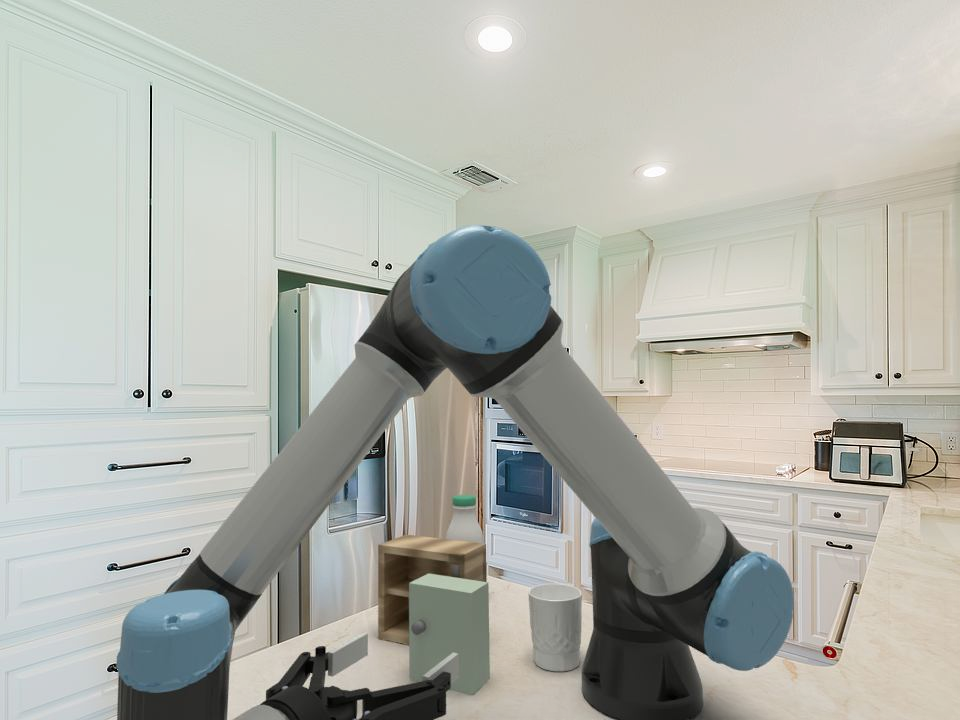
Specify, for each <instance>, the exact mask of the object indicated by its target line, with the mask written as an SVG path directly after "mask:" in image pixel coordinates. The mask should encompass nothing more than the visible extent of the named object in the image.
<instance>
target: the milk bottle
mask: <svg viewBox="0 0 960 720" xmlns="http://www.w3.org/2000/svg"><path fill="white" fill-rule="evenodd" d="M476 503H477V497H476V496H475V495H473V494H458V495H454V496H452V508H453V515H452V518H451V521H450V524H449V526H448V528H447V532H446V534H445V539H449V540H458V541H467V542H476V543H484V544H485V539H484V534H483V531H482V528H481V526H480V524H479V521H478V518H477V515H476V511H475V510H476V509H475V508H477V507H476V506H477V505H476Z"/></svg>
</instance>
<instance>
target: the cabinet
mask: <svg viewBox="0 0 960 720" xmlns="http://www.w3.org/2000/svg"><path fill="white" fill-rule="evenodd" d="M377 548H378V549H377V550H378V551H377V552H378V553H377V555H378V556H377V557H378V558H377V560H378V561H377V565H378V566H377V568H378V569H377V570H378V572H377V575H378V576H377V585H378V586H377V594H378V595H377V599H378V600H377V605H378V606H377V609H378V610H377V613H378V614H377V616H378V617H377V622H378V623H377V625H378V626H377V628H378V630H377V631H378V632H377V633H378V635H377V638H380V639H379V640H382V639H384V640H383V641H387V640H390V641H389V642H391V641H394V642H393V643H396V642H399V643H398V644H400V643H403V644H402V645H404V644H407V645H406V646H409V583H410V582H412V581H414V580H416V579H418V578H420V577H422V576H424V575H426V574H428V573H429V574H436V575H442V576H449V577H456V578H462V579H469V580H476V581H482V582H488V581H487V575H488V574H487V543H485V542H484V543H476V542H467V541H458V540H449V539H446V538H440V537H432V536H431V537H429V536H423V535H422V536H421V535H415V534H414V535H412V534H404V535H401V536H399V537H395V538H393V539H390V540H388V541H385V542H384V541H383V542H382V543H379V544H377Z"/></svg>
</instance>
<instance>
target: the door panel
mask: <svg viewBox="0 0 960 720" xmlns="http://www.w3.org/2000/svg"><path fill="white" fill-rule="evenodd" d="M489 596H490V595H489V582H488V581H487V582H482V581H476V580H469V579H462V578H456V577H449V576H442V575H436V574H429V573H428V574H426V575H424V576H422V577H420V578H418V579H416V580H414V581H412V582H410V583H409V645H408V650H409V653H408V655H409V656H408V657H409V658H408V660H409V662H408V663H409V668H408V669H409V671H408V672H409V674H408V675H409V676H408V678H409V680H410V681H413V682H414V681H415V682H422V681H423V675H425V674H426V673H427V672H428V671H430V670H431V669H432V668H434V667H435V666H436V665H438V664H439V663H440V662H441V661H443V660H444V659H445V658H447V657H448V656H449V655H450V654H452V653H457V654H458V660H459V678H458V679H456V680H455V681H454V682H453V683H452V684H451V688H450V689H449V690H448V691H452V692H456V693H460V694H464V695H467V696H468V695H469V696H472V697H473V696H474V695H475V694H476V693H478V691H480V689H481V688H482V687H484V685H485V684H486V683H488V681H490V680H491V679H490V678H491V677H490V676H491V674H490V672H491V671H490V669H491V667H490V666H491V665H490V662H491V661H490V658H491V657H490V606H489V605H490V604H489V602H490V597H489Z"/></svg>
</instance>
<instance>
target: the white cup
mask: <svg viewBox="0 0 960 720" xmlns="http://www.w3.org/2000/svg"><path fill="white" fill-rule="evenodd" d="M527 592H528V606H529V622H530V630H531V641H532V654H533V655H532V657H533V661H534V663H535V665H536V666H538V667H539V668H541V669H543V670H546V671H551V672H568V671H573V670H574V669H577V667H579V665H580V662H581V644H582V617H583V616H582V606H583V602H582V601H583V591H582V590H580V588H578V587H576V586H573V585H569V584H564V583H542V584H537V585H534V586H532V587H530V588H529V589H528V591H527Z"/></svg>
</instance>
